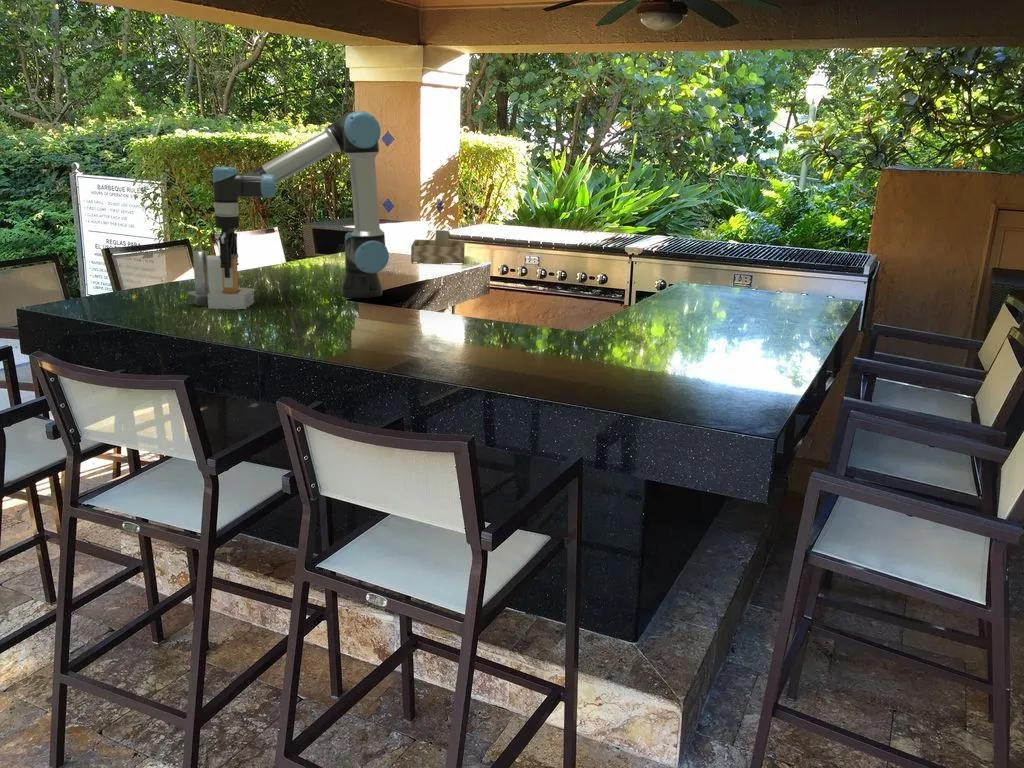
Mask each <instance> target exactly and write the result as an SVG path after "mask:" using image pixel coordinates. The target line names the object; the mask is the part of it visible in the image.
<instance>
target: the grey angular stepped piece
mask: <svg viewBox="0 0 1024 768" xmlns="http://www.w3.org/2000/svg"><path fill="white" fill-rule="evenodd" d="M207 256H208V251H207V250H193V251H192V259H193V274H194V287H195V288H194V289H195V290H190V291H187V294H188V296H193V297H195V306H197V307H208V309H210V310H237V309H245V310H247V309H248V308H249V307H251V306H252V305H254V304H255V292H254V291H255V289H254V288H251V287H238V291H239V292H238V293H226V292H223V288H217V289H215V290H213V291H210V290H209V277H208V261H207ZM253 303H254V304H253ZM250 305H251V306H250ZM247 307H248V308H247ZM246 308H247V309H246Z"/></svg>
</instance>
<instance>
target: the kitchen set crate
mask: <svg viewBox="0 0 1024 768" xmlns="http://www.w3.org/2000/svg"><path fill="white" fill-rule="evenodd" d="M432 243H436V239H414V240H413V242H412V244H411V247H410V263H411V262H417V263H416V264H420V263H423V264H422V265H424V264H425V265H426V264H427V265H444V264H443V263H465V251H466V250H465V246H466V245H465V244H466V241H465V240H449V247H436V246H425V245H429V244H432ZM441 263H442V264H441Z"/></svg>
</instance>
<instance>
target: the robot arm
mask: <svg viewBox="0 0 1024 768" xmlns="http://www.w3.org/2000/svg"><path fill="white" fill-rule="evenodd" d="M380 137H381V126H380V124H379V121H378V120H377V118H376V117H375V116H374V115H373V114H372V113H369V112H367V111H364V110H357V111H350V112H347V113H345V114H344V115H342V116H341V117H340V118H338V119H337V120H336V121H334V122H332V123H330V124H329V125H327V126H326V127H324V131H323V132H320V133H319V134H317V135H316V136H313V137H312V138H310V139H308V140H306V141H305V142H303V143H300V144H298V145H297V146H296V147H293V148H291V149H290V150H288V151H286V152H284V153H281V155H279V156H277V157H275V158H273V159H271V160H269V161H268V162H265V163H264V164H262V165H261V166H259V167H257V168H255V169H253V170H252V171H247V172H246V173H238V170H237V168H236V167H234V166H233V167H232V166H215V167H214V168H213V169H212V187H213V188H212V189H213V203H214V204H212V207H213V208H214V215H216V216H215V217H214V221H215V223H214V224H215V225H214V226H215V228H218V229H221V232H220V235H219V237H218V245H219V255H220V259H221V266H220V267H221V268H223V273H224V287H229V288H233V275H232V268H231V254H238V233H237V232H235V229H239V228H240V217H239V216H238V215H239V214H240V209H239V198H264V199H268V198H274V197H275V196H276V185H277V184H278V183H280V182H282V181H285V180H286V179H288V178H290V177H291V176H294V175H295V174H297V173H299V172H301V171H302V170H305V169H306V168H308V167H310V166H312V165H314V164H316V163H317V162H319V161H321V160H323V159H325V158H327V157H328V156H330V155H332V154H334V153H335V152H336V153H342V152H343V151H344V154H345V156H347V157H348V158H349V170H350V171H349V172H350V182H351V193H352V194H351V196H352V207H353V208H352V210H353V221H354V223H353V224H354V230H353V231H351V232H349V231H348V232H346V233H345V235H344V255H345V256H344V257H345V258H344V259H345V260H344V261H345V262H344V264H345V266H344V267H345V273H344V274H345V275H344V278H343V281H342V284H341V288H340V295H342V296H343V297H348V298H355V299H356V298H361V299H367V298H368V299H369V298H377V297H381V296H383V287H382V284H381V281H380V278H379V275H378V274H379V272H382V271H383V270H384V269H385V268H386V267H387V265H388V263H389V258H390V254H389V253H390V252H389V250H388V248H387V246H386V235H385V232H384V231H383V230H382V229H381V227H380V226H381V225H380V214H379V200H378V183H377V170H376V169H377V168H376V157H377V155H378V154H379V153H380V149H379V141H380ZM238 258H239V257H238ZM238 258H237V266H239V264H240V263H239V261H238Z"/></svg>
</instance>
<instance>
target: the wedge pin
mask: <svg viewBox="0 0 1024 768" xmlns="http://www.w3.org/2000/svg"><path fill="white" fill-rule="evenodd" d="M218 256H220V254H219V255H218ZM237 258H239V253H237V254H231V268H232V275H233V288H229V287H224V273H223V268H222V281H223V292H226V293H238V292H239V291H238V288H239V275H238V265H237V263H238V262H237Z"/></svg>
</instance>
